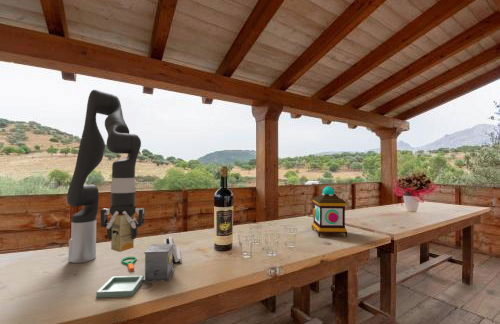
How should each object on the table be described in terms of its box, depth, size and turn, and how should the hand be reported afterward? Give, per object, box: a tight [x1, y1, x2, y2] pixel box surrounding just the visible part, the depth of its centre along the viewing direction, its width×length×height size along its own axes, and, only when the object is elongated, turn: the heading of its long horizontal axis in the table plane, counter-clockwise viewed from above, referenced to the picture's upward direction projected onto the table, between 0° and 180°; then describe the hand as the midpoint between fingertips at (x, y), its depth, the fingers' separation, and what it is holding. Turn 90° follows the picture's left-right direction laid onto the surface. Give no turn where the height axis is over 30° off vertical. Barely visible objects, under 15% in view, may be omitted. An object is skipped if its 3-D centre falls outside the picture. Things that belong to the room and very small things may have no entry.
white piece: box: [163, 236, 183, 265], centre depth 112 cm, size 17×5×10 cm, turn 19°
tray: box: [95, 274, 145, 299], centre depth 83 cm, size 11×11×2 cm
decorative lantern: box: [311, 185, 348, 238], centre depth 154 cm, size 20×20×30 cm
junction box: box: [142, 243, 175, 283], centre depth 93 cm, size 9×10×11 cm
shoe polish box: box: [110, 213, 135, 253], centre depth 84 cm, size 5×5×12 cm
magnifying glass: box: [121, 256, 138, 273], centre depth 103 cm, size 15×6×2 cm, turn 31°
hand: (122, 238), depth 84 cm, fingers closed on shoe polish box, 7 cm apart
